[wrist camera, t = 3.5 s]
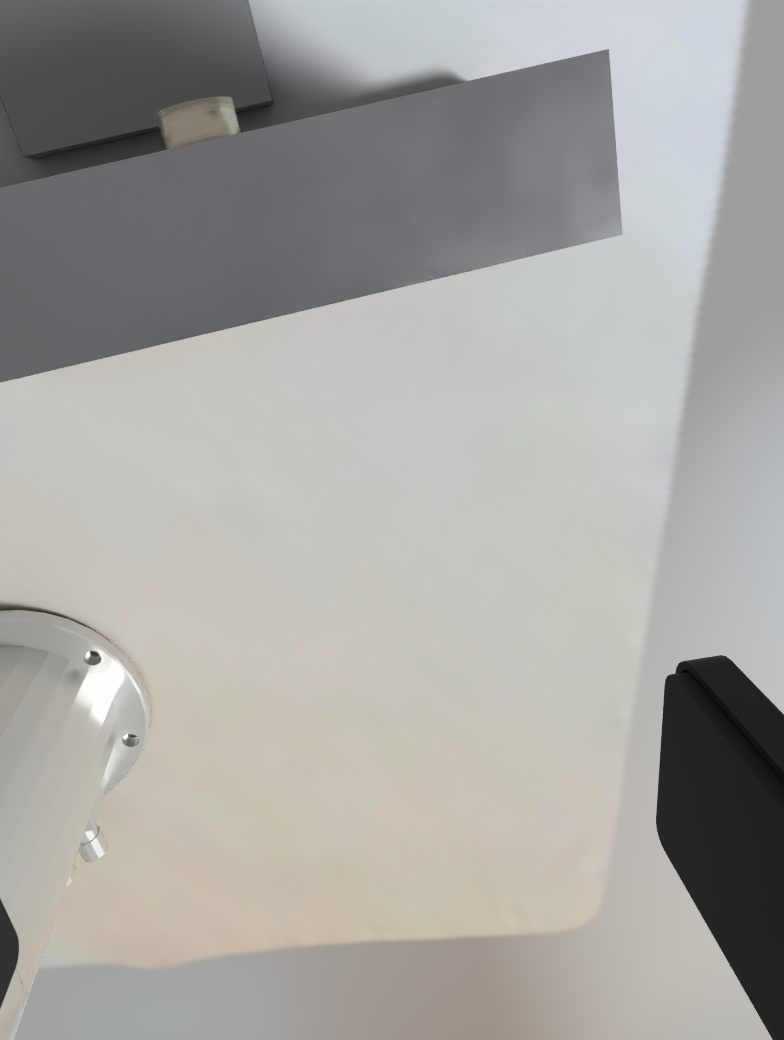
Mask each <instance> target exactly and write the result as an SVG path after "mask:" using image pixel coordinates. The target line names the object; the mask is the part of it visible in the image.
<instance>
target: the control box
mask: <svg viewBox="0 0 784 1040" xmlns="http://www.w3.org/2000/svg"><path fill="white" fill-rule="evenodd" d="M156 118H157V122H158V125H159V128H160V131H161V135H162V138H163V141H164V145H165V148H166V150H163V151H159V152H155V153H150V154H146V155H141V156H137V157H133V158H128V159H124V160H119V161H115V162H111V163H106V164H102V165H97V166H93V167H89V168H84V169H80V170H75V171H71V172H67V173H62V174H58V175H53V176H49V177H45V178H40V179H36V180H32V181H27V182H23V183H18V184H14V185H10V186H5V187H1V188H0V382H4V381H8V380H12V379H17V378H22V377H26V376H30V375H34V374H38V373H43V372H47V371H51V370H55V369H59V368H64V367H68V366H72V365H76V364H80V363H85V362H89V361H93V360H97V359H101V358H106V357H110V356H114V355H118V354H123V353H127V352H131V351H135V350H139V349H144V348H148V347H152V346H156V345H160V344H165V343H169V342H173V341H177V340H181V339H186V338H190V337H194V336H198V335H202V334H207V333H211V332H215V331H219V330H224V329H228V328H232V327H236V326H240V325H245V324H249V323H253V322H257V321H261V320H266V319H270V318H274V317H278V316H282V315H287V314H291V313H295V312H299V311H303V310H308V309H312V308H316V307H320V306H325V305H329V304H333V303H337V302H341V301H346V300H350V299H354V298H358V297H362V296H367V295H371V294H375V293H379V292H383V291H388V290H392V289H396V288H400V287H404V286H409V285H413V284H417V283H421V282H425V281H430V280H434V279H438V278H442V277H447V276H451V275H455V274H459V273H463V272H468V271H472V270H476V269H480V268H484V267H489V266H493V265H497V264H501V263H505V262H510V261H513V260H517V259H521V258H526V257H530V256H534V255H538V254H542V253H547V252H551V251H555V250H559V249H563V248H568V247H572V246H576V245H580V244H584V243H589V242H593V241H597V240H601V239H606V238H610V237H614V236H618V235H622V224H621V210H620V196H619V183H618V169H617V155H616V142H615V128H614V114H613V101H612V87H611V73H610V60H609V49H607V50H603V51H599V52H594V53H590V54H585V55H581V56H577V57H572V58H568V59H563V60H559V61H555V62H550V63H546V64H541V65H537V66H533V67H528V68H524V69H519V70H515V71H511V72H506V73H502V74H497V75H493V76H489V77H484V78H480V79H476V80H471V81H467V82H462V83H458V84H454V85H449V86H445V87H440V88H436V89H432V90H427V91H423V92H418V93H414V94H410V95H405V96H401V97H396V98H392V99H388V100H383V101H379V102H374V103H370V104H366V105H361V106H357V107H352V108H348V109H344V110H339V111H335V112H330V113H326V114H322V115H317V116H313V117H308V118H304V119H300V120H295V121H291V122H286V123H282V124H278V125H273V126H269V127H265V128H260V129H256V130H251V131H247V132H243V133H241V130H240V127H239V123H238V119H237V115H236V111H235V108H234V104H233V100H232V98H230V97H210V98H203V99H197V100H192V101H187V102H183V103H179V104H176V105H173V106H170V107H167V108H165V109H162V110H160V111H159V112H157V113H156Z"/></svg>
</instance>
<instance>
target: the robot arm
mask: <svg viewBox="0 0 784 1040" xmlns="http://www.w3.org/2000/svg"><path fill="white" fill-rule="evenodd" d="M150 711H151V710H150V705H149V699H148V694H147V691H146V688H145V686H144V684H143V681H142V679H141V677H140V675H139V673H138V672H137V670H136V669H135V668H134V666H133V665H132V663H131V662H130V661H129V659H128V658H127V657H126V656H125V655H124V654H123V653H122V652H121V651H120V650H119V649H118V648H117V647H116V646H115V645H114V644H113V643H112V642H110V641H109V640H107V639H105V638H104V637H102V636H101V635H99V634H98V633H96V632H95V631H93V630H92V629H90V628H87V627H85V626H83V625H81V624H79V623H76V622H74V621H72V620H70V619H66V618H62V617H59V616H55V615H51V614H48V613H42V612H34V611H25V610H5V611H0V1040H14V1037H15V1034H16V1031H17V1028H18V1025H19V1023H20V1019H21V1017H22V1014H23V1011H24V1008H25V1005H26V1002H27V999H28V996H29V993H30V990H31V987H32V985H33V981H34V979H35V975H36V973H37V970H38V967H39V964H40V961H41V958H42V955H43V952H44V949H45V946H46V943H47V941H48V938H49V935H50V932H51V929H52V926H53V923H54V920H55V917H56V914H57V911H58V908H59V905H60V902H61V899H62V897H63V894H64V891H65V888H66V886H67V885H68V884H69V883H70V882H71V881H72V880H73V878H74V877H75V875H76V868H77V867H76V866H75V864H74V861H75V858H76V855H77V853H78V850H79V852H80V854H81V856H82V858H83V859H84V860H85V861H86V862H92V861H95V860H97V859H99V858H100V857H101V856H102V855H104V854H105V852H106V850H107V849H108V843H107V841H106V839H105V837H104V835H103V834H102V832H101V830H100V828H99V827H98V826H97V825H96V823H95V821H96V818H97V815H98V812H99V809H100V805H101V802H102V799H103V796H104V794H106V793H108V792H110V791H111V790H113V789H114V788H115V787H116V786H117V785H118V784H119V783H121V782H122V781H123V780H124V779H125V778H126V777H127V776H128V775H129V773H130V772H131V771H132V769H133V768H134V767H135V765H136V764H137V763H138V760H139V758H140V756H141V754H142V751H143V749H144V747H145V743H146V740H147V736H148V732H149V728H150ZM662 722H663V723H662V737H661V752H660V769H659V783H658V799H657V815H656V824H657V831H658V835H659V839H660V841H661V844H662V846H663V848H664V850H665V852H666V854H667V856H668V858H669V859H670V861H671V863H672V864H673V866H674V868H675V869H676V871H677V873H678V875H679V876H680V878H681V880H682V882H683V884H684V885H685V887H686V889H687V891H688V892H689V894H690V896H691V898H692V899H693V901H694V903H695V905H696V906H697V908H698V910H699V911H700V913H701V915H702V917H703V919H704V920H705V922H706V924H707V926H708V927H709V929H710V931H711V933H712V934H713V936H714V938H715V940H716V941H717V943H718V945H719V947H720V948H721V950H722V952H723V954H724V955H725V957H726V959H727V961H728V962H729V964H730V966H731V967H732V969H733V971H734V973H735V974H736V976H737V978H738V980H739V981H740V983H741V985H742V987H743V988H744V990H745V992H746V994H747V995H748V997H749V999H750V1001H751V1002H752V1004H753V1005H754V1008H755V1009H756V1011H757V1013H758V1014H759V1016H760V1018H761V1020H762V1022H763V1023H764V1025H765V1027H766V1029H767V1030H768V1032H769V1034H770V1035H771V1037H772V1039H773V1040H784V715H783V714H782V712H781V711H779V710H778V708H777V707H776V706H775V705H774V704H773V703H772V702H771V701H770V700H769V699H768V698H767V697H766V696H765V695H764V694H763V693H762V692H761V691H760V690H759V689H758V688H757V687H756V686H755V685H754V684H753V683H752V682H751V680H749V678H748V677H747V676H746V675H745V674H744V673H743V672H742V671H741V670H740V669H739V668H738V667H737V666H736V665H735V664H734V663H733V662H732V661H731V660H730V659H729V658H727V657H726V656H722V655H720V656H714V657H707V658H701V659H695V660H689V661H683V662H681V663H679V664H678V666H677V668H676V673H675V674H672V675H669V676H667V678H666V681H665V690H664V707H663V721H662Z"/></svg>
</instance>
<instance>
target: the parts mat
mask: <svg viewBox="0 0 784 1040" xmlns="http://www.w3.org/2000/svg"><path fill="white" fill-rule="evenodd" d="M0 96H1V99H2V102H3V104H4V107H5V110H6V112H7V115H8V118H9V120H10V123H11V125H12V128H13V131H14V133H15V136H16V139H17V141H18V144H19V146H20V149H21V152H22V154H23V157H27V158H31V159H33V158H38V157H42V156H47V155H51V154H55V153H60V152H64V151H69V150H73V149H77V148H82V147H86V146H91V145H95V144H100V143H104V142H108V141H113V140H117V139H122V138H126V137H130V136H135V135H139V134H144V133H148V132H153V131H157V130H160V128H159V125H158V122H157V118H156V113H157V112H159V111H160V110H162V109H165V108H167V107H170V106H173V105H176V104H179V103H183V102H187V101H192V100H197V99H203V98H210V97H230V98H232V100H233V104H234V108H235V111H236V113H237V112H241V111H245V110H250V109H254V108H259V107H263V106H267V105H272V104H273V101H272V96H271V92H270V88H269V84H268V80H267V76H266V72H265V68H264V64H263V59H262V55H261V51H260V47H259V43H258V39H257V35H256V31H255V27H254V23H253V18H252V14H251V10H250V6H249V2H248V0H0Z"/></svg>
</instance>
